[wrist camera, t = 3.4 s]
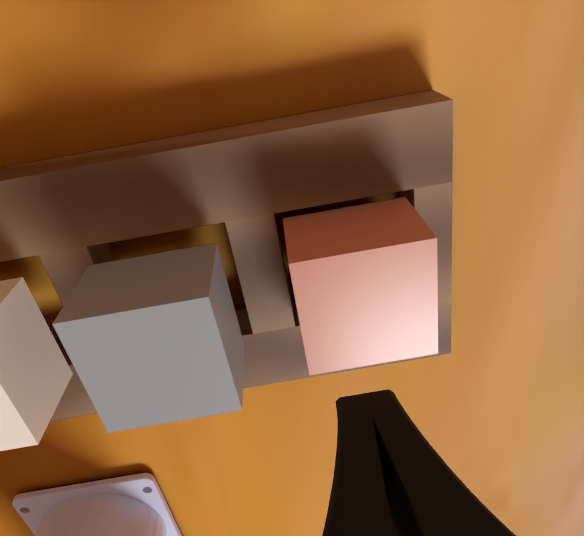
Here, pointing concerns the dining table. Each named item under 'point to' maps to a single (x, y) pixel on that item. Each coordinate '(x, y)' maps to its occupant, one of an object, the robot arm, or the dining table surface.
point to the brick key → (364, 284)
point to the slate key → (155, 338)
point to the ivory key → (27, 368)
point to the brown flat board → (236, 207)
